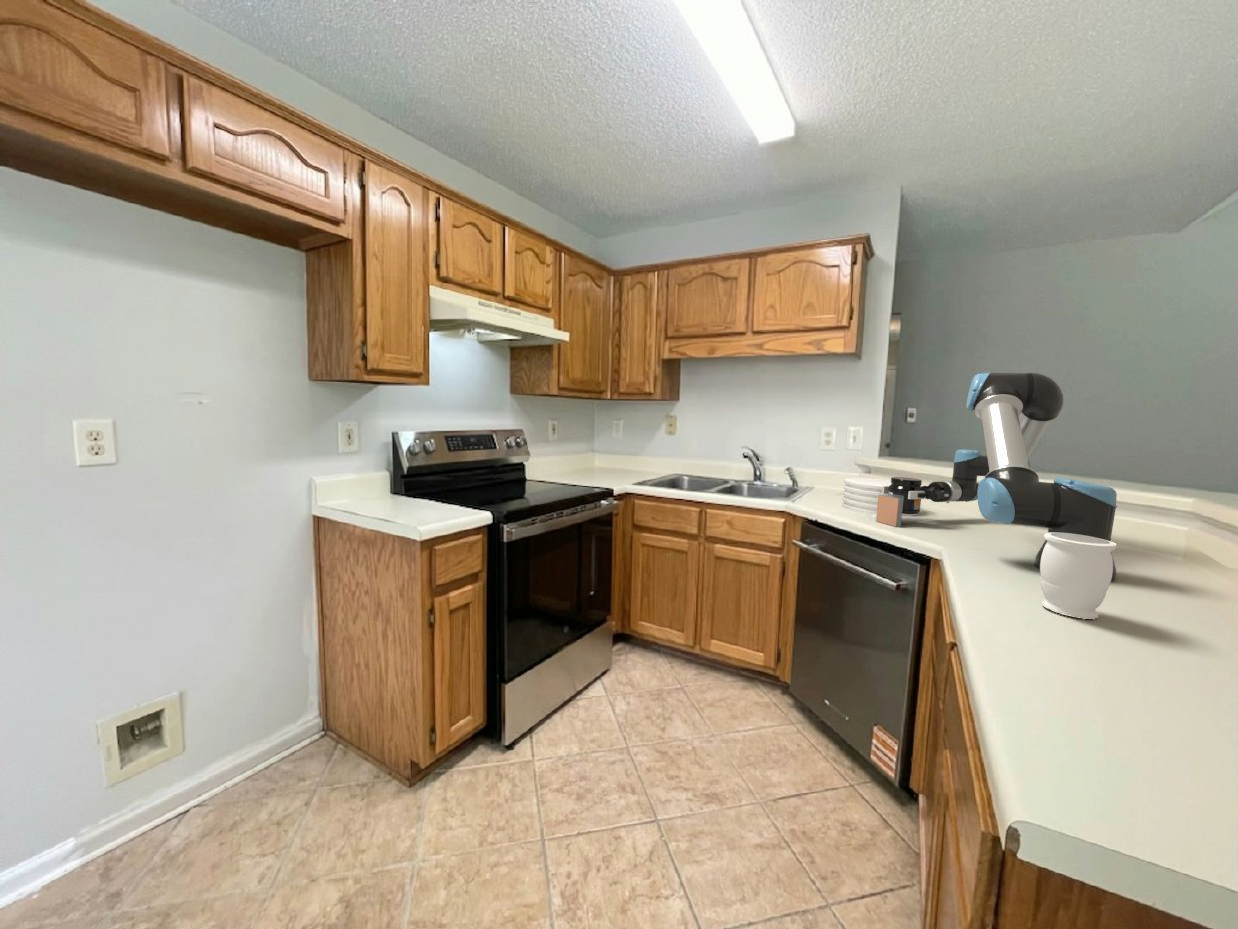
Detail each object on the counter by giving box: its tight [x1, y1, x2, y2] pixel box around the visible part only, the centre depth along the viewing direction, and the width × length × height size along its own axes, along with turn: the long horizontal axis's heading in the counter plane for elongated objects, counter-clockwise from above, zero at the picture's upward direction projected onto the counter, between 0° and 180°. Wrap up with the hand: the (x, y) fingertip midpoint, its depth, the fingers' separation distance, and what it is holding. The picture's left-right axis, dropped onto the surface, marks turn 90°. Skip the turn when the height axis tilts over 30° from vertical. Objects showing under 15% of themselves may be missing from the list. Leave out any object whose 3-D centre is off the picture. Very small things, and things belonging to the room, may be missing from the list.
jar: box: [1039, 532, 1117, 620], centre depth 96 cm, size 11×10×15 cm
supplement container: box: [888, 476, 923, 514], centre depth 175 cm, size 10×10×12 cm
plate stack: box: [841, 477, 919, 517], centre depth 203 cm, size 28×28×12 cm
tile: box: [875, 494, 903, 528], centre depth 173 cm, size 2×9×10 cm, turn 17°
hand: (895, 492), depth 174 cm, fingers closed on supplement container, 10 cm apart
